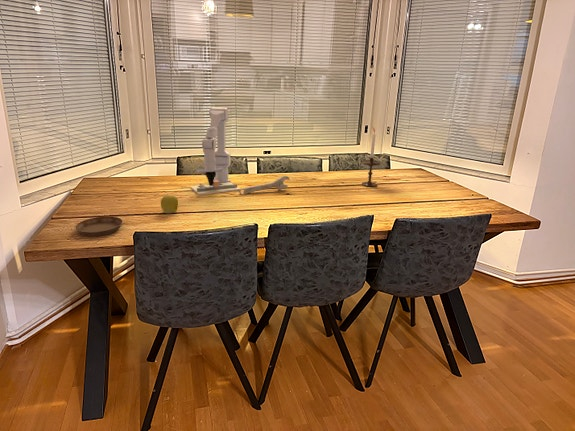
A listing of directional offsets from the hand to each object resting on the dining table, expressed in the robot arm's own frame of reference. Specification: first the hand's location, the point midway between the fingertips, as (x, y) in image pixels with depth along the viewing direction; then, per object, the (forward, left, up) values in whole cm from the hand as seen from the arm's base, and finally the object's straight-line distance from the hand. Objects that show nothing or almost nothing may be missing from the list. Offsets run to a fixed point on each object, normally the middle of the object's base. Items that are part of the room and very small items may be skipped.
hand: (210, 185), depth 222 cm
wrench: (+12, +27, -4) cm, 30 cm away
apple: (+26, -28, -4) cm, 39 cm away
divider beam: (-4, +4, -4) cm, 7 cm away
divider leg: (-4, +3, -2) cm, 5 cm away
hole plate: (-4, +4, -4) cm, 7 cm away
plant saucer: (+37, -59, -4) cm, 70 cm away
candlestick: (+24, +92, -4) cm, 95 cm away
